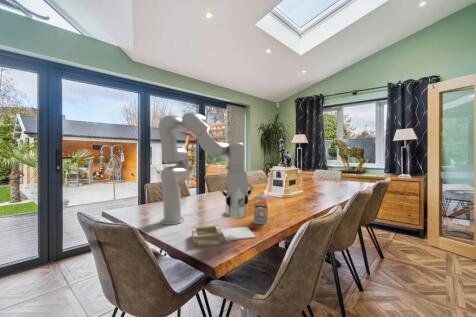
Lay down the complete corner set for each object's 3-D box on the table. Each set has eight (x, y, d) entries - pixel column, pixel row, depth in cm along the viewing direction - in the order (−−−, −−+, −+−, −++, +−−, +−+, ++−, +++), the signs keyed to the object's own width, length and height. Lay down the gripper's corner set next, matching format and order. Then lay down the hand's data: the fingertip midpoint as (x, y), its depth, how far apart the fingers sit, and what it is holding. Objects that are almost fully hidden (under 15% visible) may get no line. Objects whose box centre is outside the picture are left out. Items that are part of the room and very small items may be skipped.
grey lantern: (269, 224, 128) (268, 178, 127) (248, 223, 130) (247, 178, 129) (270, 219, 137) (270, 176, 136) (250, 218, 140) (250, 176, 139)
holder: (192, 235, 112) (191, 227, 112) (218, 233, 115) (218, 225, 115) (193, 246, 100) (193, 237, 99) (223, 243, 103) (223, 234, 103)
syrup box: (236, 214, 118) (236, 185, 117) (245, 216, 114) (245, 186, 113) (228, 217, 113) (228, 187, 113) (238, 219, 110) (237, 188, 109)
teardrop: (244, 214, 147) (244, 195, 147) (226, 216, 145) (226, 196, 144) (240, 210, 158) (240, 192, 158) (223, 211, 156) (223, 193, 155)
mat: (220, 230, 119) (220, 229, 119) (247, 227, 123) (247, 226, 123) (226, 240, 106) (226, 239, 106) (255, 237, 109) (255, 236, 109)
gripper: (220, 169, 107) (220, 208, 108) (256, 168, 111) (256, 205, 112) (217, 168, 114) (218, 204, 115) (251, 167, 119) (252, 201, 119)
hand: (237, 204), depth 113 cm, fingers closed on syrup box, 8 cm apart
